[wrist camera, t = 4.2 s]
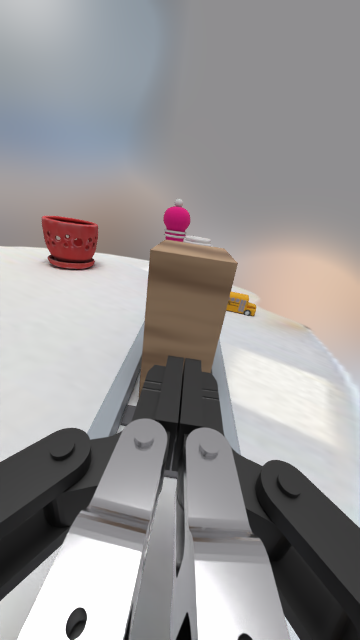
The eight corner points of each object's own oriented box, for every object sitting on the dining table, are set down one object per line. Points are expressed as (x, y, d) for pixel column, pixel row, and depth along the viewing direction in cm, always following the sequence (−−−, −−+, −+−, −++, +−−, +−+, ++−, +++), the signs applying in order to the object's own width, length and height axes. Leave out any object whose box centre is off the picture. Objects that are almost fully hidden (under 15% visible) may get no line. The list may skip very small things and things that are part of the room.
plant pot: (41, 270, 54) (34, 216, 49) (52, 258, 65) (47, 214, 60) (97, 273, 58) (97, 224, 53) (99, 262, 70) (98, 221, 64)
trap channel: (240, 513, 14) (253, 486, 13) (71, 486, 14) (68, 457, 13) (212, 322, 40) (215, 306, 39) (153, 312, 40) (154, 297, 39)
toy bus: (254, 317, 46) (259, 300, 44) (207, 307, 47) (211, 291, 46) (253, 312, 49) (257, 296, 47) (209, 303, 50) (212, 287, 49)
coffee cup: (170, 277, 65) (175, 234, 59) (188, 274, 71) (194, 235, 66) (195, 286, 60) (203, 240, 55) (212, 282, 67) (220, 241, 62)
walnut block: (200, 411, 21) (237, 263, 15) (138, 401, 21) (150, 249, 15) (199, 361, 28) (224, 248, 22) (153, 354, 28) (165, 239, 22)
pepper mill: (148, 285, 55) (156, 194, 47) (166, 281, 61) (175, 199, 52) (171, 293, 52) (184, 197, 43) (187, 288, 57) (201, 202, 49)
